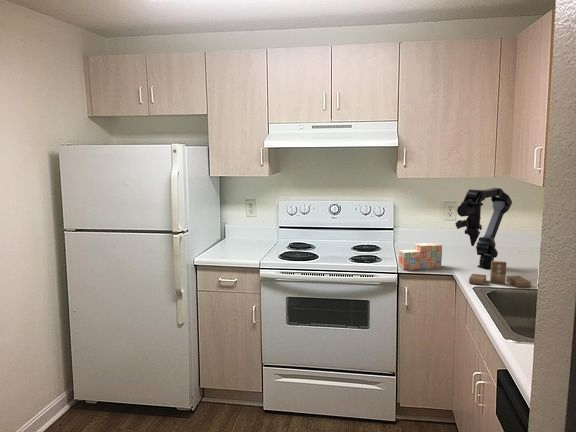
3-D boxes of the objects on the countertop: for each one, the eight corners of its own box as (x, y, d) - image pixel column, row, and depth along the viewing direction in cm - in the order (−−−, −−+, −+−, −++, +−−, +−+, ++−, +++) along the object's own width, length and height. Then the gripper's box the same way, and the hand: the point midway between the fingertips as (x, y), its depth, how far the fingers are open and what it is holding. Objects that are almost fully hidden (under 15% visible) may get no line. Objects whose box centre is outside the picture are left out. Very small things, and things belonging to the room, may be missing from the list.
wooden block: (472, 273, 227) (469, 277, 219) (486, 275, 224) (483, 279, 216) (472, 279, 228) (469, 283, 219) (485, 280, 225) (483, 285, 216)
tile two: (506, 275, 222) (517, 281, 212) (519, 275, 223) (530, 281, 213) (506, 281, 223) (517, 287, 213) (518, 281, 223) (530, 287, 213)
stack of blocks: (403, 270, 244) (404, 246, 242) (398, 267, 250) (398, 244, 248) (441, 268, 248) (442, 244, 247) (435, 265, 254) (436, 242, 253)
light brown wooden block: (490, 282, 222) (491, 260, 220) (504, 282, 220) (505, 261, 219) (491, 283, 219) (492, 262, 218) (505, 284, 218) (506, 262, 216)
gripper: (459, 211, 249) (458, 241, 251) (454, 216, 233) (452, 247, 235) (482, 213, 244) (481, 243, 246) (478, 217, 228) (477, 250, 230)
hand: (472, 245), depth 239 cm, fingers closed
